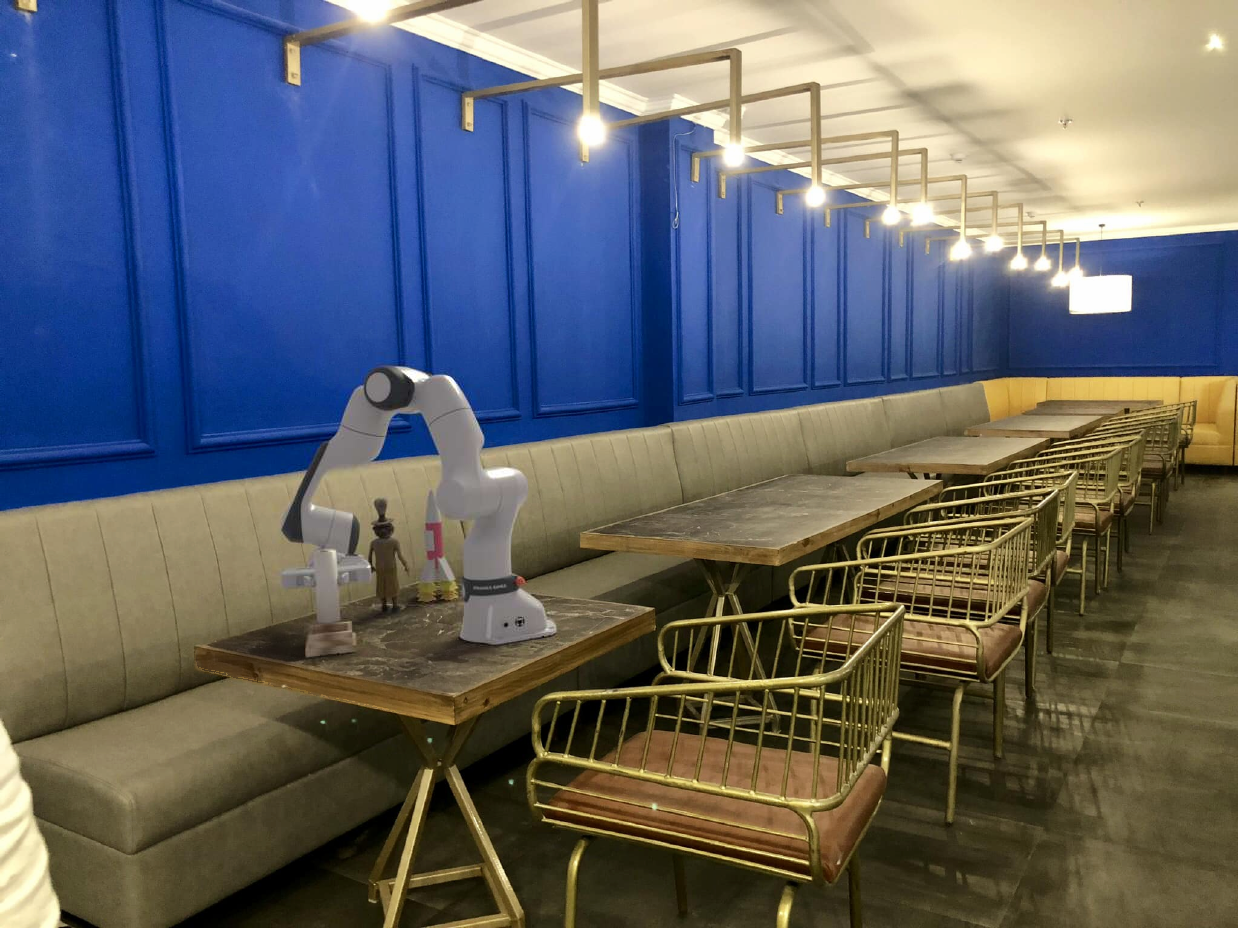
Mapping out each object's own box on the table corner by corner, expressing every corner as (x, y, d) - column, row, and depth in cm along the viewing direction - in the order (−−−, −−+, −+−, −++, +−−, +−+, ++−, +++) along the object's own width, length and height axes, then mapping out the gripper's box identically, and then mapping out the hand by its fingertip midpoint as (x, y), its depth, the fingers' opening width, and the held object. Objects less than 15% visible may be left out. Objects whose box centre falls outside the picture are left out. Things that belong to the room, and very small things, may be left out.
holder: (355, 638, 233) (354, 620, 233) (356, 651, 223) (355, 631, 222) (307, 644, 230) (305, 625, 230) (305, 657, 220) (304, 637, 219)
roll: (340, 616, 229) (336, 547, 227) (340, 621, 224) (336, 551, 222) (317, 618, 228) (313, 549, 226) (317, 624, 223) (312, 553, 221)
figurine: (417, 605, 263) (411, 494, 260) (405, 615, 254) (398, 499, 251) (377, 606, 265) (370, 494, 261) (364, 615, 255) (356, 500, 252)
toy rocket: (435, 590, 280) (429, 485, 277) (468, 594, 274) (462, 487, 271) (406, 600, 270) (399, 491, 267) (439, 604, 264) (433, 492, 261)
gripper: (280, 561, 234) (277, 572, 221) (369, 553, 240) (371, 564, 226) (282, 587, 235) (279, 600, 222) (371, 579, 240) (373, 591, 227)
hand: (326, 582), depth 224 cm, fingers closed on roll, 5 cm apart
